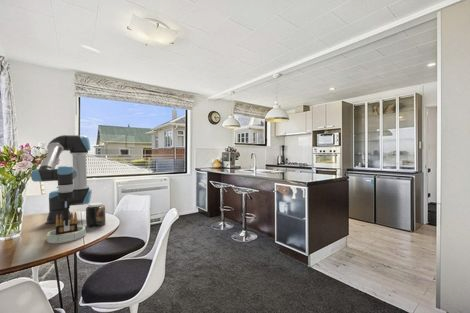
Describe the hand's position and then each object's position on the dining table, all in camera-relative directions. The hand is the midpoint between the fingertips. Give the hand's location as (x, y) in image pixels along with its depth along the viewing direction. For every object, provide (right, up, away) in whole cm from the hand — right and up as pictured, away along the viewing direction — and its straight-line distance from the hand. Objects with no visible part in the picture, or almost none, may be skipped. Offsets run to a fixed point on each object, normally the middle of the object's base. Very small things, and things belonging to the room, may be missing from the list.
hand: (66, 230), depth 137 cm
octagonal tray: (0, -4, 0) cm, 4 cm away
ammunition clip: (0, -2, 0) cm, 2 cm away
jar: (+3, -4, +23) cm, 24 cm away
